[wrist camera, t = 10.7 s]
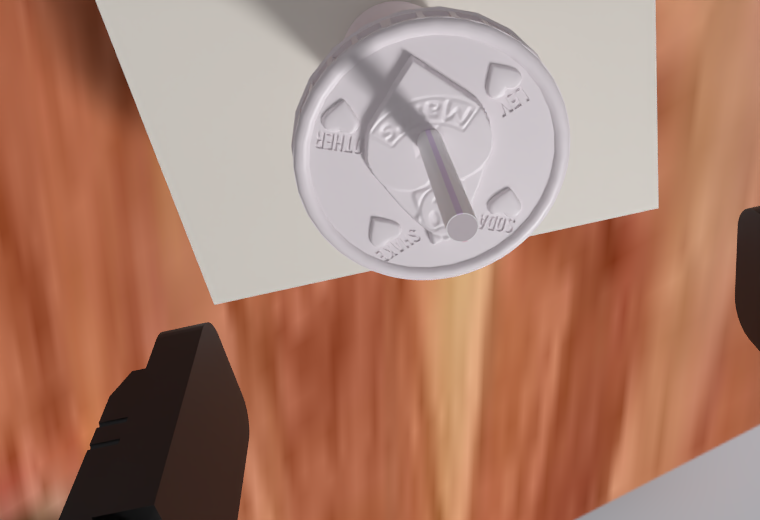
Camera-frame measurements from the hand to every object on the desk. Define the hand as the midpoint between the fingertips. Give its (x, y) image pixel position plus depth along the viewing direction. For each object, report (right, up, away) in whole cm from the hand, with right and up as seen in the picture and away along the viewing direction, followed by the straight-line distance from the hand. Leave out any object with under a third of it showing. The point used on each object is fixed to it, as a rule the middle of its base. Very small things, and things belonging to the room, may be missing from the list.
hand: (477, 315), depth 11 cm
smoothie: (-1, +8, +14) cm, 16 cm away
